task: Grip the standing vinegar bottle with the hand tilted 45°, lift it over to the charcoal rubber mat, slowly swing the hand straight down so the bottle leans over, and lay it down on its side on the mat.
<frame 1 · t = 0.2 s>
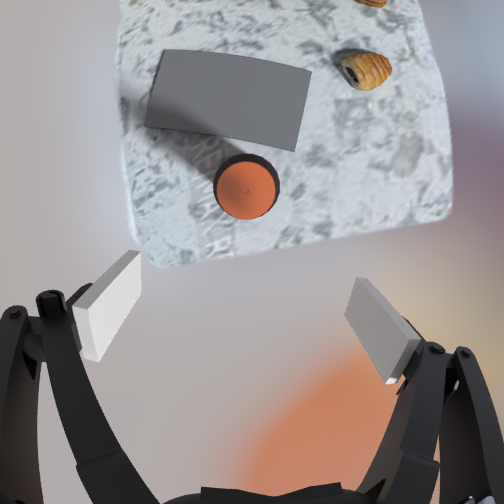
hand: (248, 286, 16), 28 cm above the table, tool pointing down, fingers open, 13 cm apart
mat: (227, 94, 37), on the table
vinegar: (247, 180, 41), on the table
pastry: (363, 71, 35), on the table
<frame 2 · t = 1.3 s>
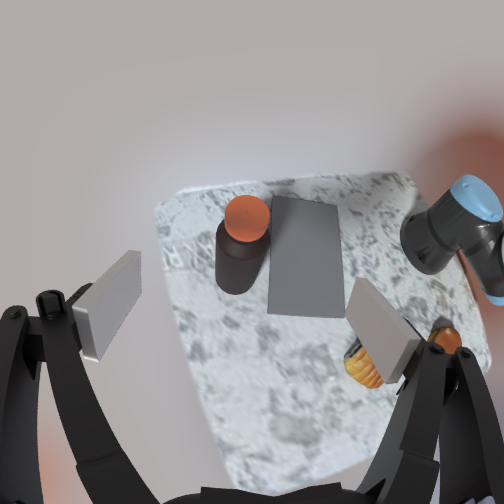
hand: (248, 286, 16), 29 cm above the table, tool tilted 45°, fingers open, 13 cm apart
burger: (438, 350, 45), on the table
mat: (306, 254, 51), on the table
vinegar: (234, 277, 47), on the table
pastry: (362, 364, 43), on the table
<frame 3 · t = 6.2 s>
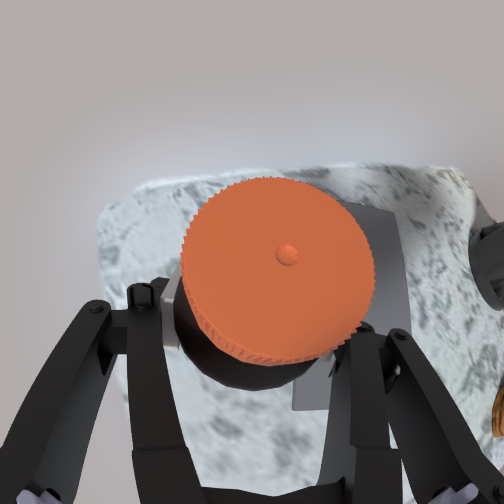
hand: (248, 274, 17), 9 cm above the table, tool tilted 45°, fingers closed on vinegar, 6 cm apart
burger: (501, 409, 23), on the table
mat: (356, 296, 28), on the table
vinegar: (232, 345, 24), on the table, touching gripper
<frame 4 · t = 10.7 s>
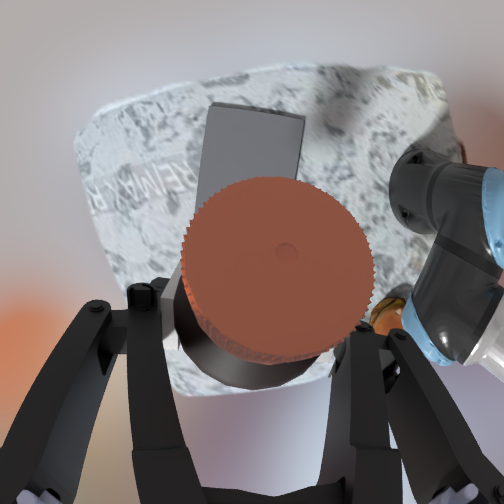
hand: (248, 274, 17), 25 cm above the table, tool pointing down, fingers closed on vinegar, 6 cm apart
burger: (386, 315, 49), on the table
mat: (244, 190, 40), on the table
vinegar: (232, 345, 24), point 21 cm above the table, touching gripper
when the fingers open (9 cm above the table, at t = 15.3 s): vinegar moves 4 cm, resting on mat.
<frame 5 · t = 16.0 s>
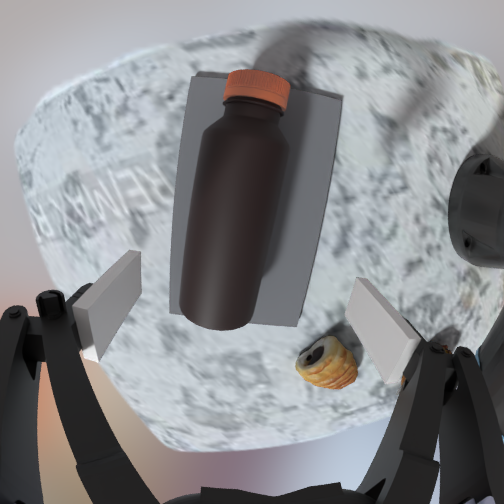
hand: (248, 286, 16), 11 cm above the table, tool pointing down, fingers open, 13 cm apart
mat: (248, 208, 25), on the table
vinegar: (215, 312, 24), point 4 cm above the table, touching mat
pastry: (326, 357, 33), on the table
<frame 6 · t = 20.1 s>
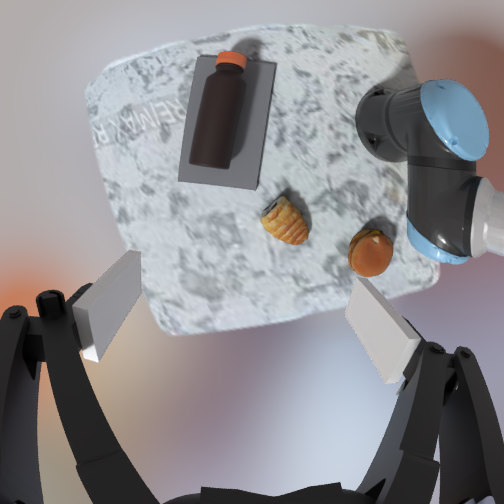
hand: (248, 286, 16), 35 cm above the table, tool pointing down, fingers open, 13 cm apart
burger: (365, 249, 53), on the table
mat: (225, 119, 43), on the table
vinegar: (208, 167, 42), point 4 cm above the table, touching mat
pastry: (284, 219, 50), on the table
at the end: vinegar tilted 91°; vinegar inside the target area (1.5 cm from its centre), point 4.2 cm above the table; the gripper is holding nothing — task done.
